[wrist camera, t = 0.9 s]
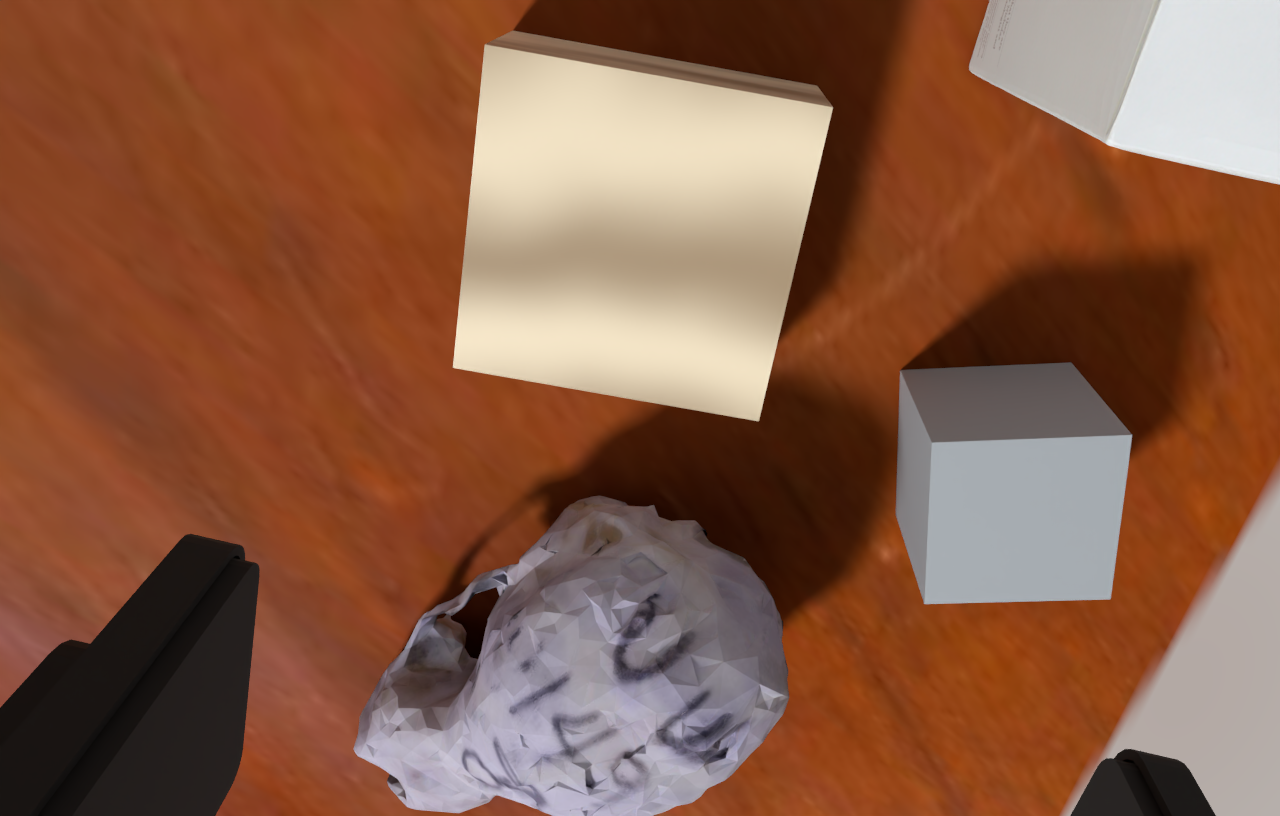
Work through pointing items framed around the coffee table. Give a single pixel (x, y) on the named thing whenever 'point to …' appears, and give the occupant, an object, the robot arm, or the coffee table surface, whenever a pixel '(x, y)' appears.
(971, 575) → the slate block
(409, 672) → the skull
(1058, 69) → the supplement box
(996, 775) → the coffee table surface
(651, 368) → the maple block
